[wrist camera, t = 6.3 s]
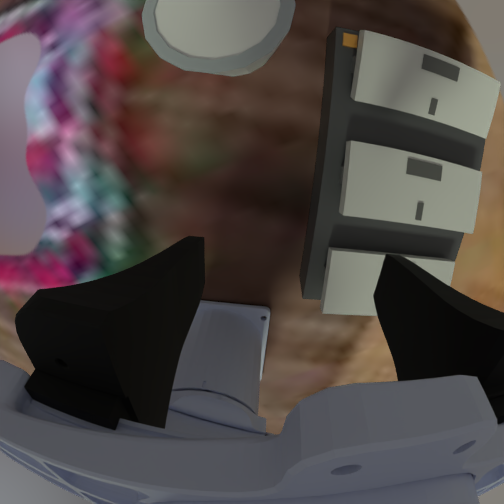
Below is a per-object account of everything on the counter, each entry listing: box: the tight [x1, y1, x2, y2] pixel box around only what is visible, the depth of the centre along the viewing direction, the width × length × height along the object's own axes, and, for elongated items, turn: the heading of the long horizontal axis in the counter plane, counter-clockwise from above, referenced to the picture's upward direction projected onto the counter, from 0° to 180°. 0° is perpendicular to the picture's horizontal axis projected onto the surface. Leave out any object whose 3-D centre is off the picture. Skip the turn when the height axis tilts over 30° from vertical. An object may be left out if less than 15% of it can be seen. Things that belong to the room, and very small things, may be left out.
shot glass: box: [142, 0, 296, 77], centre depth 12 cm, size 7×7×7 cm
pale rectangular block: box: [320, 247, 455, 316], centre depth 18 cm, size 4×9×1 cm, turn 86°
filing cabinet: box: [299, 27, 485, 300], centre depth 17 cm, size 18×11×4 cm, turn 176°
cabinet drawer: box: [350, 30, 501, 139], centre depth 12 cm, size 4×9×1 cm, turn 87°
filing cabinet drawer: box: [339, 141, 482, 234], centre depth 15 cm, size 4×9×1 cm, turn 86°
